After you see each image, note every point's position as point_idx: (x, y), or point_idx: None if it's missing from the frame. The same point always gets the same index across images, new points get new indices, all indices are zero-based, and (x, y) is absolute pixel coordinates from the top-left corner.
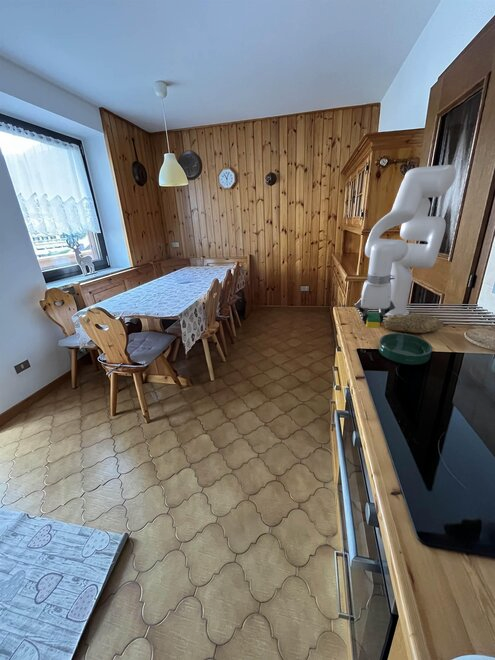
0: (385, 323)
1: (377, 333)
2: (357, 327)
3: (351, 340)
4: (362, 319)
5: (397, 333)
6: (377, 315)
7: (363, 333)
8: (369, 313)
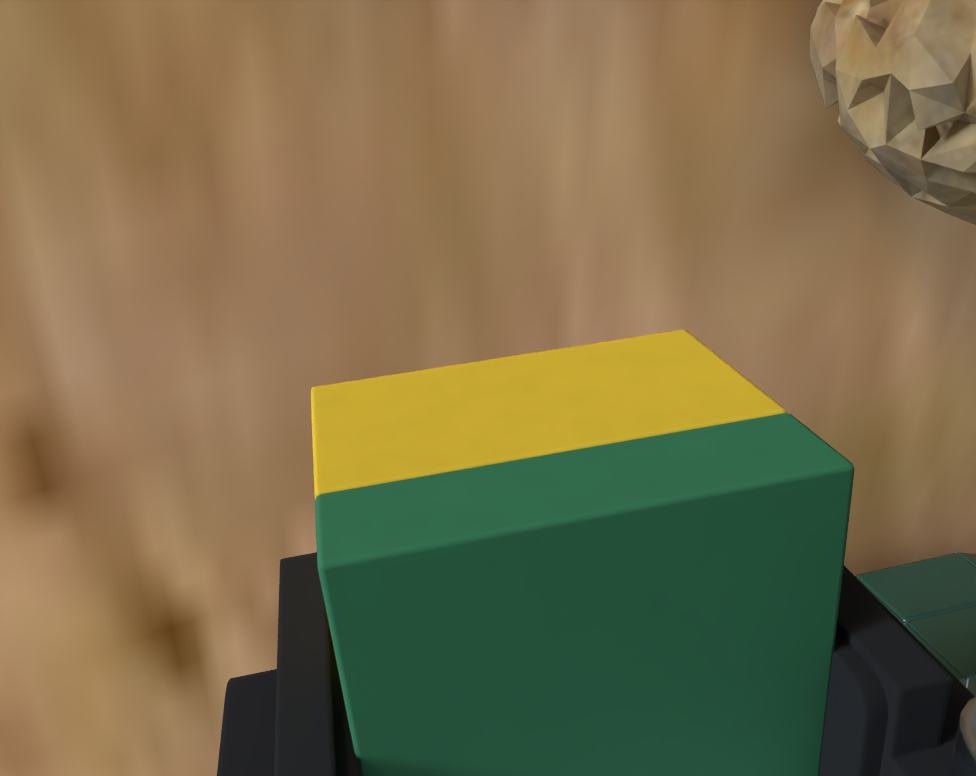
0: (868, 128)
1: (600, 307)
2: (123, 94)
3: (123, 759)
4: (231, 700)
5: (971, 689)
6: (767, 752)
7: None
8: (478, 685)
